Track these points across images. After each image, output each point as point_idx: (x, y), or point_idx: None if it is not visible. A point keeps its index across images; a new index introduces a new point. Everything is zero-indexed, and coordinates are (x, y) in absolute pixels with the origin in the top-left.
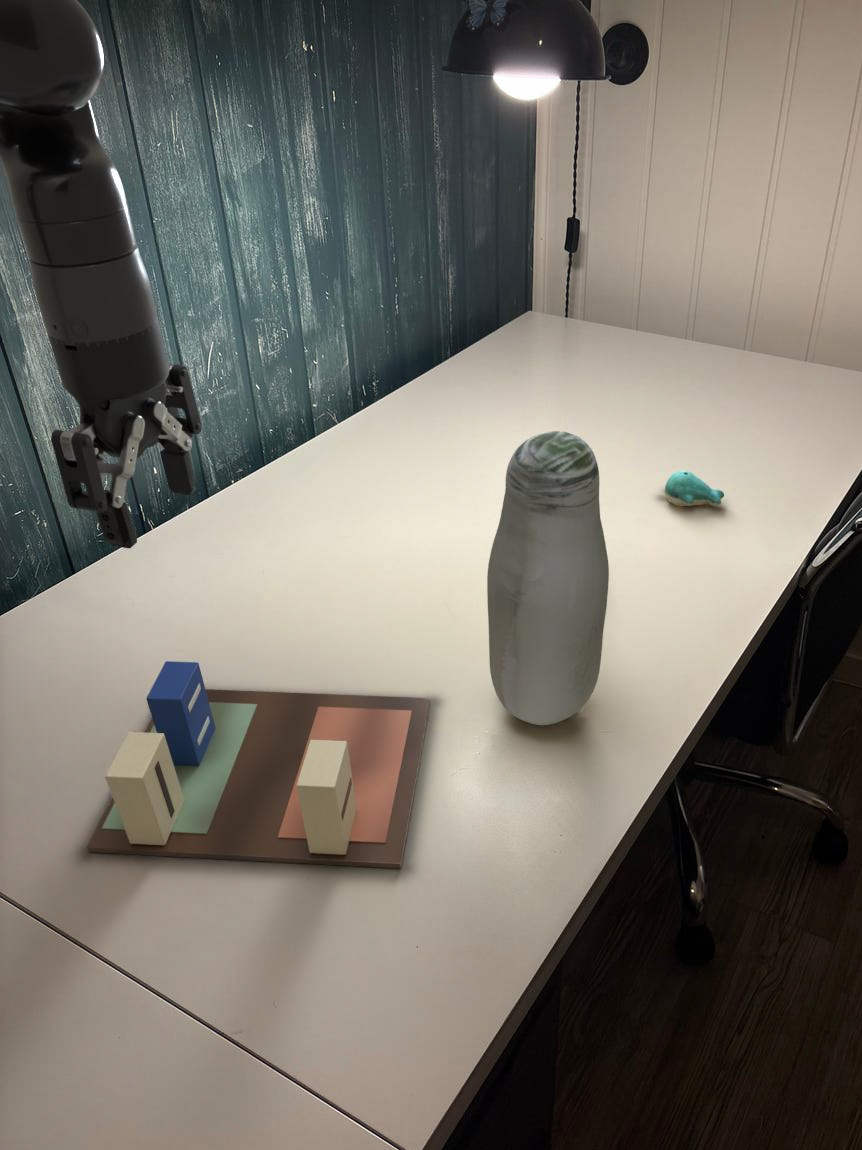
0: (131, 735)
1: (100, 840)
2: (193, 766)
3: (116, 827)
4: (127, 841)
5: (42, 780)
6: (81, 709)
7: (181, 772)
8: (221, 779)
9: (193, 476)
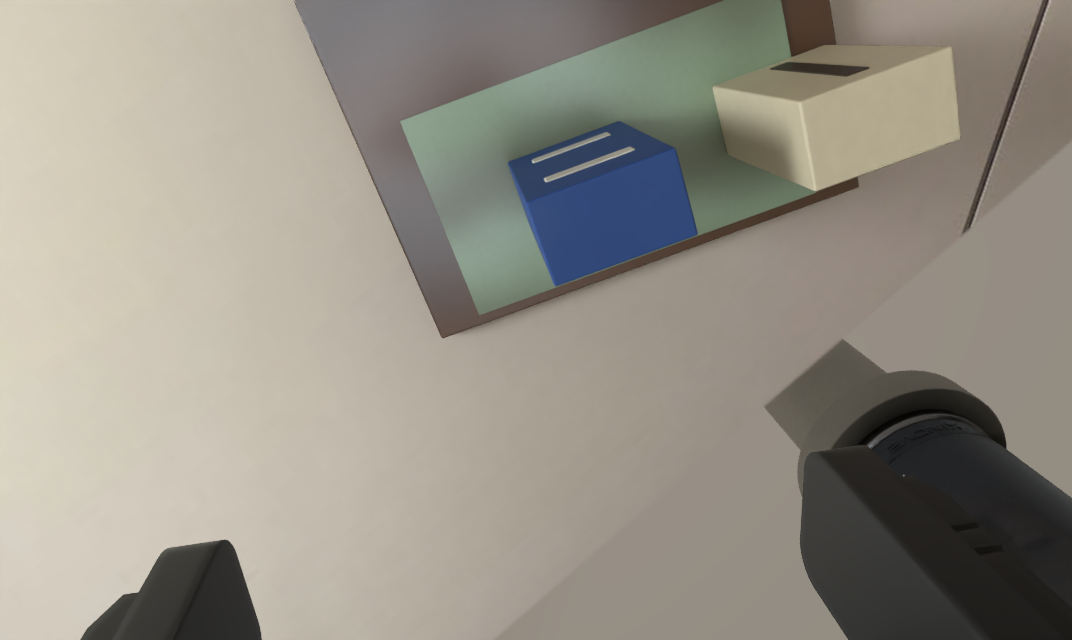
0: (827, 174)
1: None
2: None
3: None
4: None
5: (729, 377)
6: (555, 445)
7: None
8: (636, 48)
9: (100, 627)
